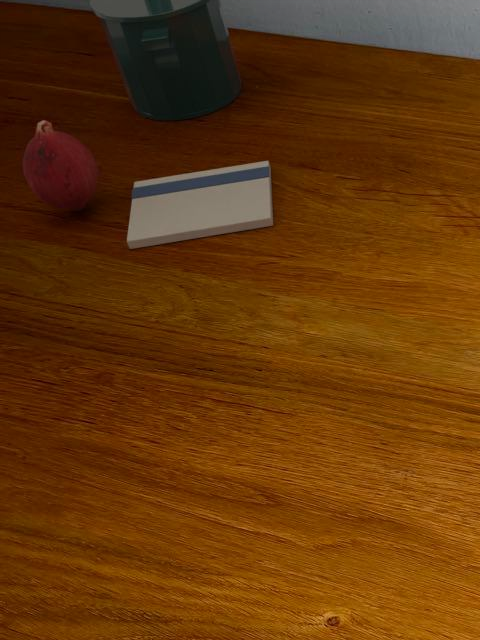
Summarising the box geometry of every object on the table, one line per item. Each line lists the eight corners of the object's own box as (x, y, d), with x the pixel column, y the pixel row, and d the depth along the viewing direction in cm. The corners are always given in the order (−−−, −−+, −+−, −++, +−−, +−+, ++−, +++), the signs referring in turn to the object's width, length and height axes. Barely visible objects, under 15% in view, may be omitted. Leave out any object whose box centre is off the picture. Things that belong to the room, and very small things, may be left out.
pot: (127, 141, 101) (89, 40, 94) (138, 68, 112) (104, -27, 104) (242, 123, 101) (213, 21, 94) (242, 53, 112) (215, -43, 105)
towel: (129, 249, 88) (125, 240, 87) (137, 189, 94) (133, 180, 94) (273, 226, 89) (270, 216, 88) (270, 168, 95) (268, 159, 95)
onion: (94, 229, 90) (55, 140, 84) (33, 227, 91) (-10, 140, 85) (122, 193, 94) (87, 106, 88) (63, 192, 95) (25, 106, 89)
